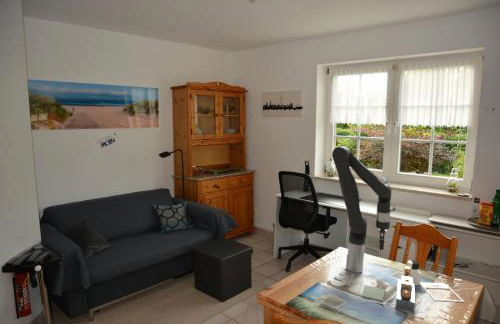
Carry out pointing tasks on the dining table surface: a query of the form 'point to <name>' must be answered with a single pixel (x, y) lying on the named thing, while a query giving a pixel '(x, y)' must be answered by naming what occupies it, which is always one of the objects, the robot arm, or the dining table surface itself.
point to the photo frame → (439, 286)
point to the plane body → (405, 295)
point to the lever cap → (406, 283)
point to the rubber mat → (373, 293)
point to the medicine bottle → (414, 271)
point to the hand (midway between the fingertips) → (381, 246)
